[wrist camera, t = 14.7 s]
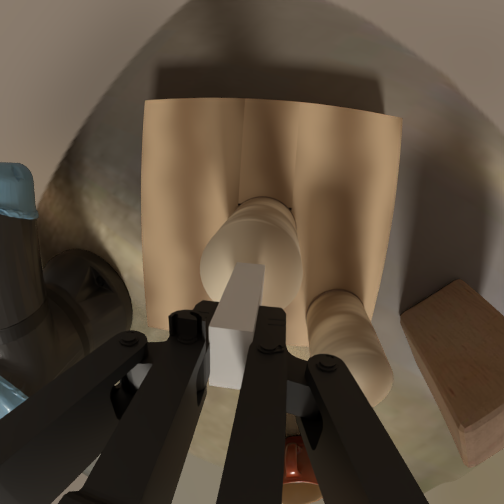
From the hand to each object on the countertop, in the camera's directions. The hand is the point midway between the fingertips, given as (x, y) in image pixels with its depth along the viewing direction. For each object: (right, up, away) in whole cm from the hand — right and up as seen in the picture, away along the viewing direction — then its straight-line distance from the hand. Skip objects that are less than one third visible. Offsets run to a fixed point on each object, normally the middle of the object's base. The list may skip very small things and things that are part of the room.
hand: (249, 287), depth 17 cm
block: (+25, -7, +18) cm, 32 cm away
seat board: (+2, +5, +17) cm, 18 cm away
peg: (+2, +5, +16) cm, 17 cm away
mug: (+7, -29, +27) cm, 40 cm away
